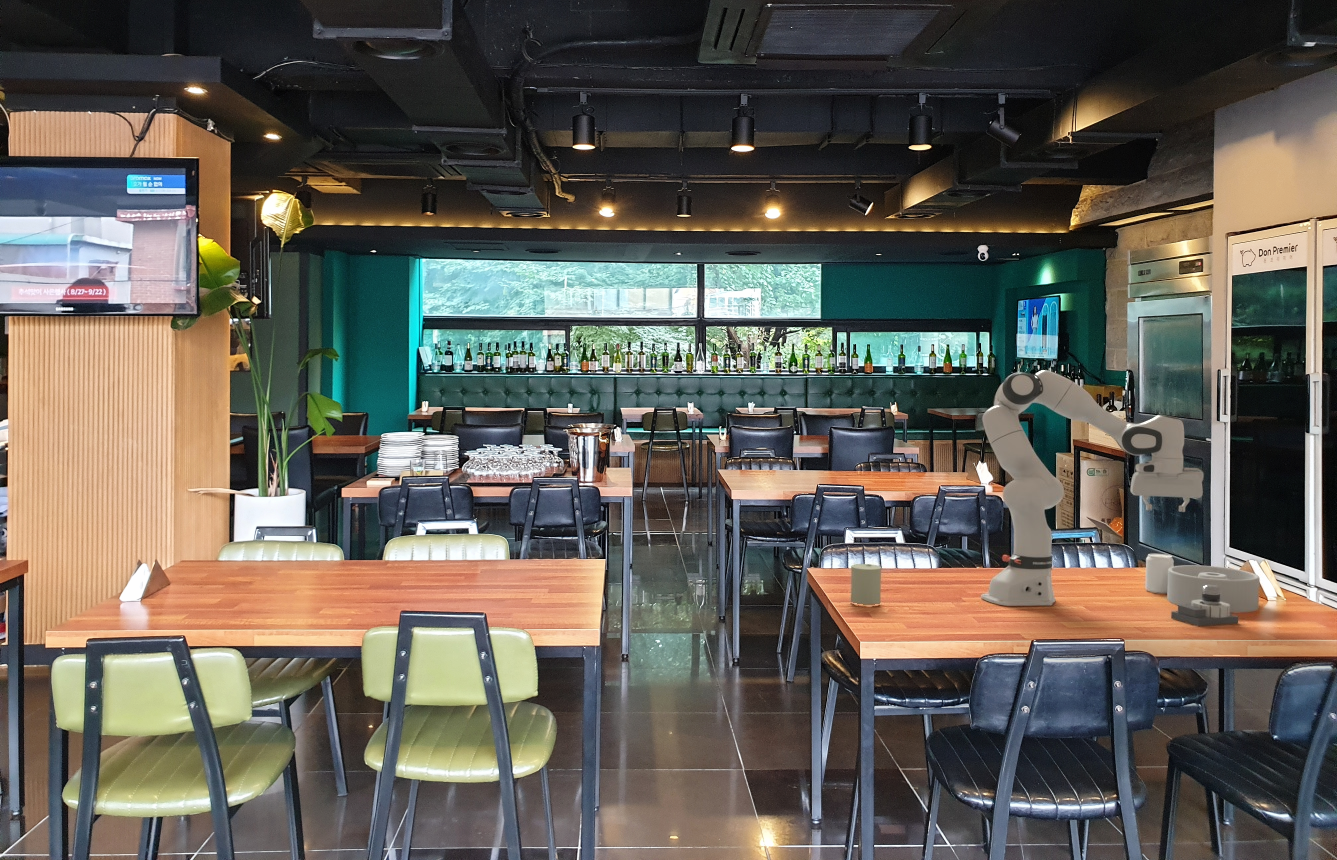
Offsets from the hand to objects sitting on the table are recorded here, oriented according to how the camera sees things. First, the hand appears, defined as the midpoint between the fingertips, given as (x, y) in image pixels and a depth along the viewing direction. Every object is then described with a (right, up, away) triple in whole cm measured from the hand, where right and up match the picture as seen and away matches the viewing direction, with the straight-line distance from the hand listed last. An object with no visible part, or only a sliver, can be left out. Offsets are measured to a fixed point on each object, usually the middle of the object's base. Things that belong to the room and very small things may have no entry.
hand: (1165, 510), depth 312 cm
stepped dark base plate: (-1, -30, -25) cm, 39 cm away
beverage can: (+6, -28, +15) cm, 32 cm away
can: (-95, -28, -7) cm, 100 cm away
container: (+14, -29, -2) cm, 32 cm away
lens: (0, -28, -25) cm, 37 cm away
